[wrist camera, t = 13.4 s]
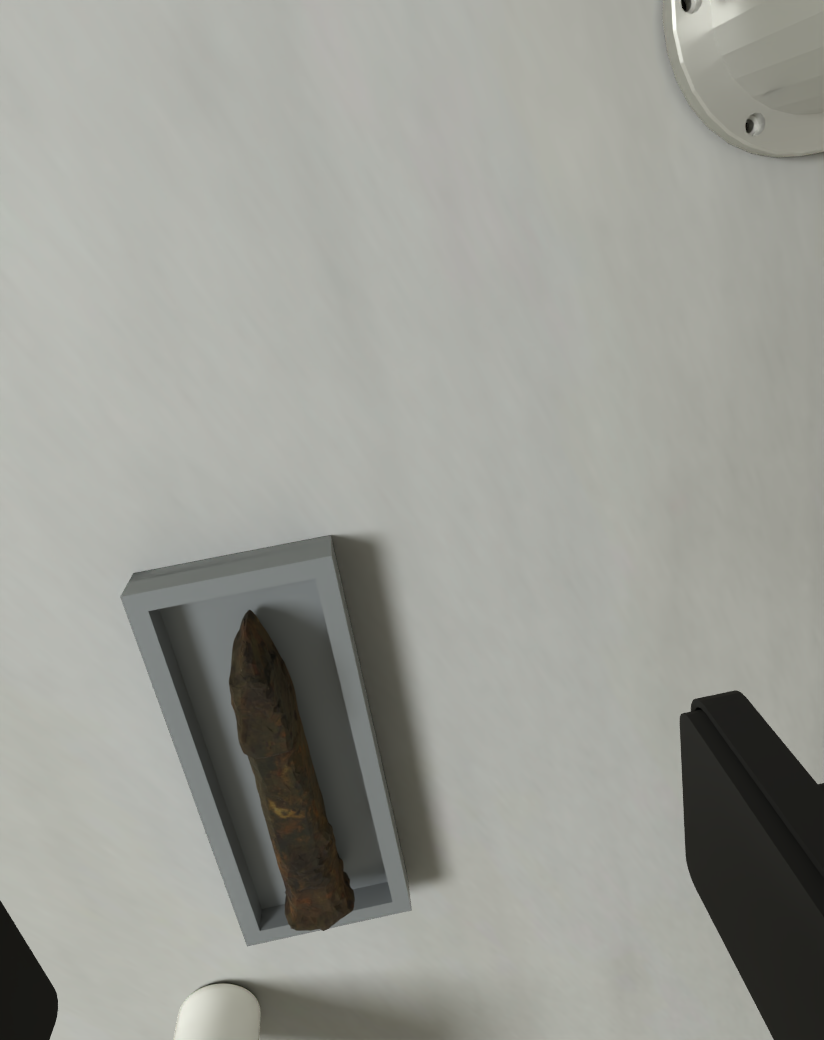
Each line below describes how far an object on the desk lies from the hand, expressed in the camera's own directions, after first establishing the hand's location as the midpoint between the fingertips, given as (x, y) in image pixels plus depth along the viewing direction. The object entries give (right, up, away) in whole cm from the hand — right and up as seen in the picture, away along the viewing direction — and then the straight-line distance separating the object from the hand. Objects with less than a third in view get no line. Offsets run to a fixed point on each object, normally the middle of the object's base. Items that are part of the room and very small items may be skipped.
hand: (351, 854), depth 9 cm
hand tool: (-7, -9, +30) cm, 32 cm away
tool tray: (-6, -8, +31) cm, 33 cm away
